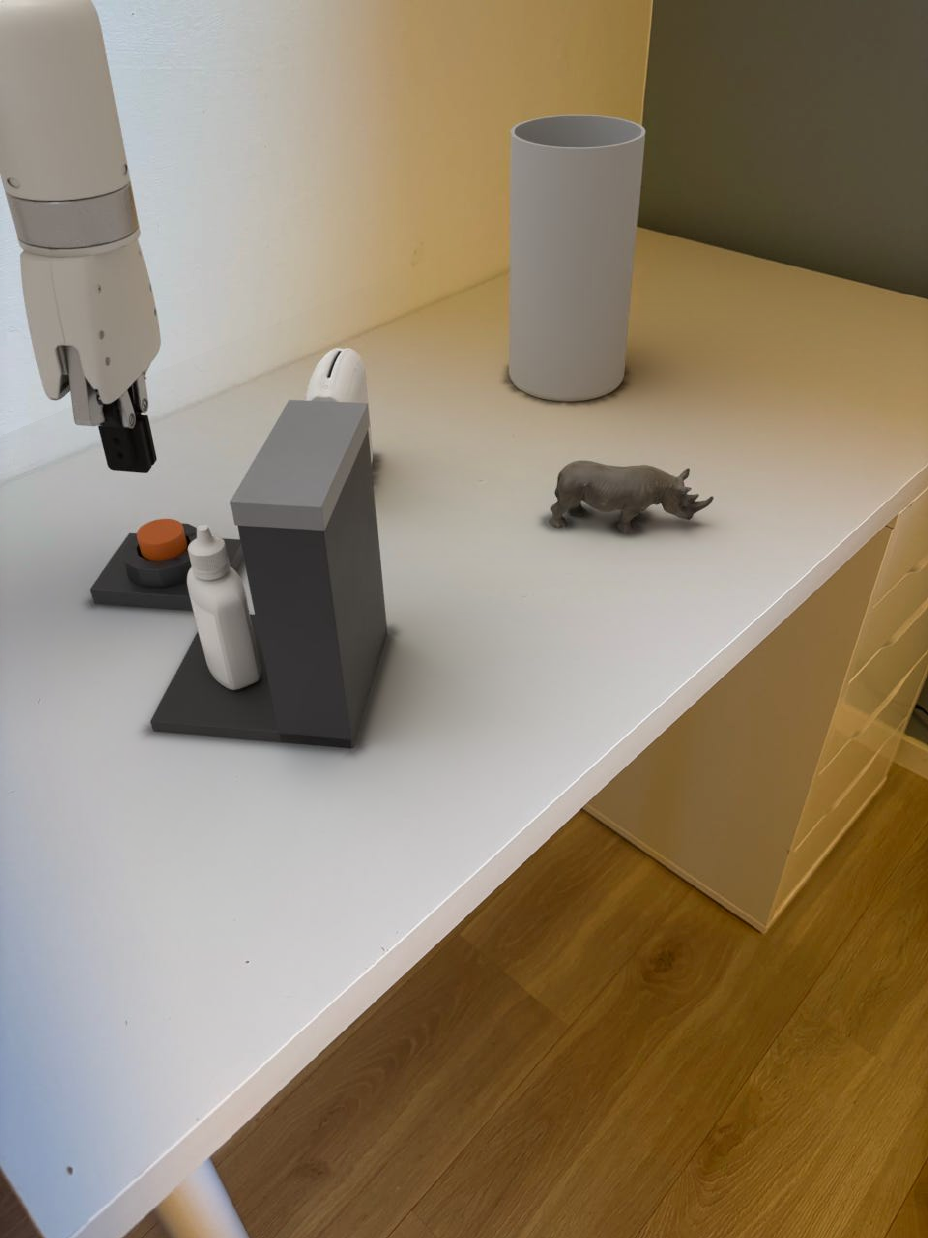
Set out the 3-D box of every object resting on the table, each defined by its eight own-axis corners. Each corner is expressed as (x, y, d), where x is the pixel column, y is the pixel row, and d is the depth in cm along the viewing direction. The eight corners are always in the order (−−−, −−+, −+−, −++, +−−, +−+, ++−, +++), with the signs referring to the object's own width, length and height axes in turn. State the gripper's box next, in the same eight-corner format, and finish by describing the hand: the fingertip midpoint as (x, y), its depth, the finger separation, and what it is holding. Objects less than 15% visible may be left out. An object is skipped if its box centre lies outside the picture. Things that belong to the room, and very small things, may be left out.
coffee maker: (152, 734, 68) (76, 492, 56) (211, 622, 77) (157, 393, 65) (354, 752, 66) (321, 506, 54) (389, 635, 76) (368, 402, 63)
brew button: (134, 560, 79) (129, 542, 77) (151, 535, 81) (146, 517, 80) (178, 563, 78) (173, 545, 77) (193, 537, 81) (189, 519, 80)
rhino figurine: (710, 543, 84) (720, 482, 80) (547, 533, 86) (550, 473, 82) (707, 516, 87) (717, 456, 83) (551, 507, 89) (553, 448, 85)
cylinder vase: (485, 377, 109) (483, 131, 93) (564, 344, 116) (575, 108, 100) (567, 416, 102) (580, 156, 86) (647, 378, 108) (673, 129, 92)
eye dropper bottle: (196, 694, 69) (159, 554, 62) (209, 642, 74) (176, 505, 66) (259, 692, 69) (230, 551, 62) (268, 640, 74) (242, 502, 66)
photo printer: (360, 516, 88) (347, 388, 81) (313, 514, 89) (295, 387, 81) (378, 457, 96) (367, 335, 89) (334, 456, 97) (320, 335, 89)
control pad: (94, 606, 79) (83, 571, 77) (133, 548, 85) (124, 514, 83) (215, 614, 78) (207, 579, 76) (246, 555, 84) (239, 521, 82)
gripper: (71, 178, 69) (125, 416, 81) (-42, 251, 58) (40, 516, 69) (174, 183, 69) (214, 423, 80) (80, 258, 57) (143, 525, 69)
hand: (133, 465), depth 75 cm, fingers closed
